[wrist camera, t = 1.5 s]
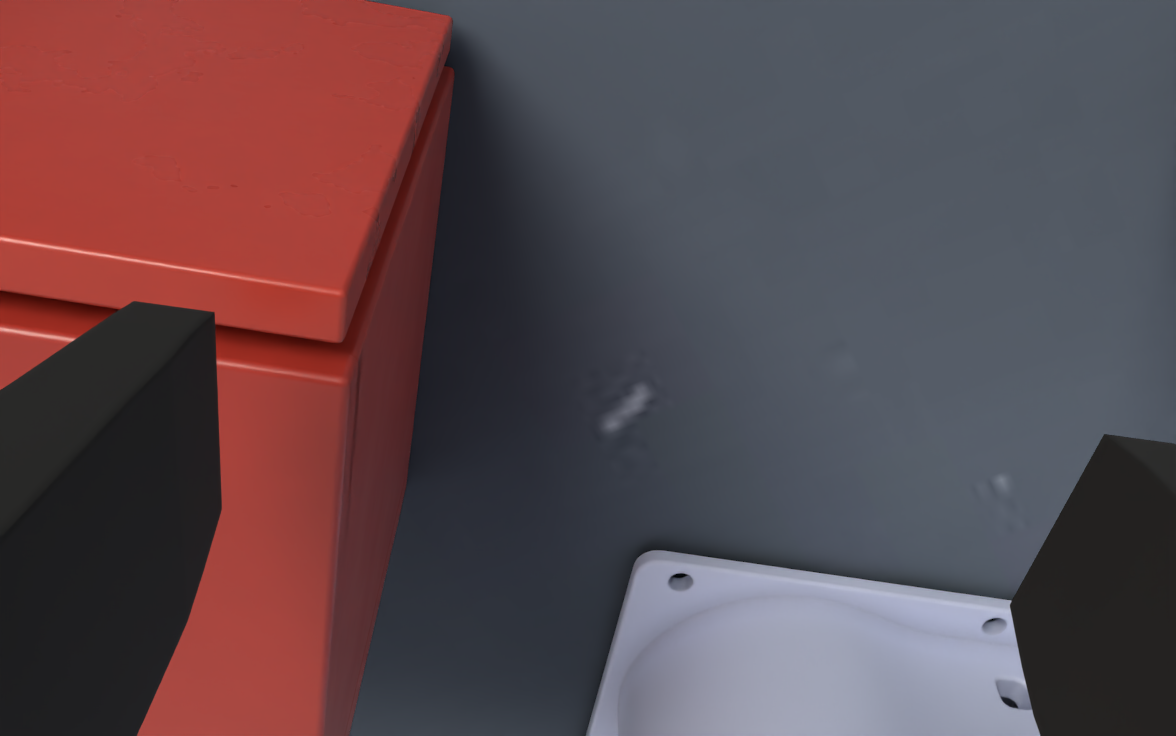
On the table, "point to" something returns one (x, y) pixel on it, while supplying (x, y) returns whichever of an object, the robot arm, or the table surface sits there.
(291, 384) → the cabinet
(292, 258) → the red cabinet door
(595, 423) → the table surface
